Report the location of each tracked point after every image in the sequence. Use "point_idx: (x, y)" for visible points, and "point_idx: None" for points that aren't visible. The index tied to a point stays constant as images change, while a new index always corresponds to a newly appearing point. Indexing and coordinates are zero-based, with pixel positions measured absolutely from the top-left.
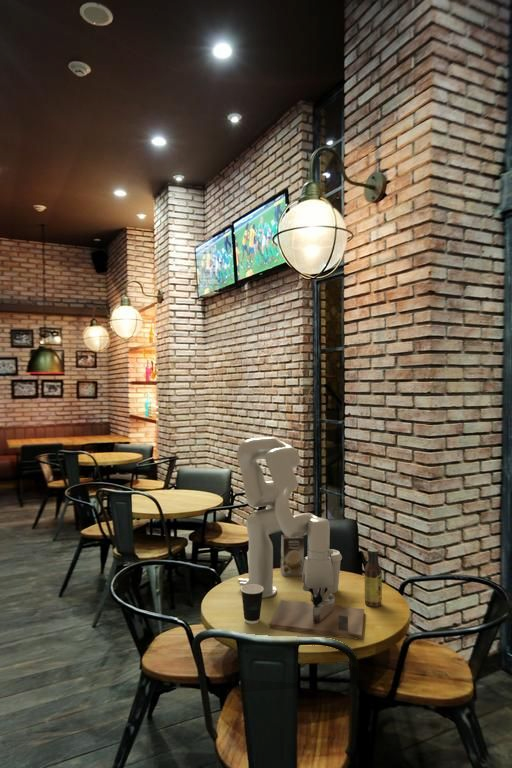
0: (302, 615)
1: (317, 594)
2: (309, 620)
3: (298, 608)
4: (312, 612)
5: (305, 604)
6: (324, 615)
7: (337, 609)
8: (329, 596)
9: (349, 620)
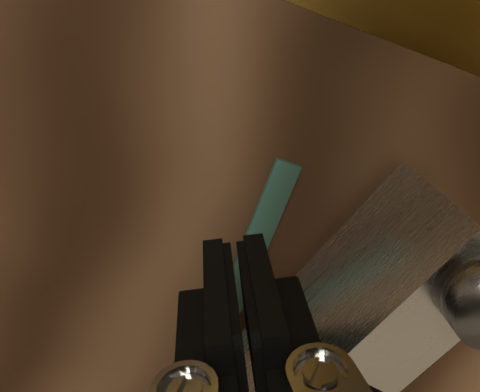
0: (61, 303)
1: (262, 357)
2: (126, 387)
3: (11, 137)
4: (177, 244)
5: (113, 9)
6: None
7: (475, 180)
8: (454, 330)
9: (470, 385)
